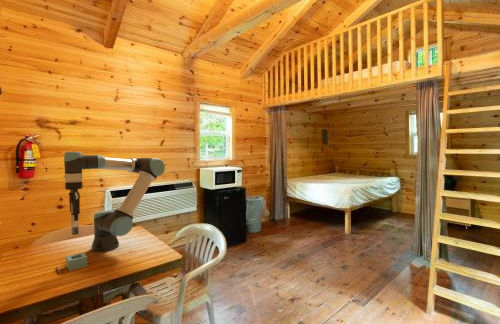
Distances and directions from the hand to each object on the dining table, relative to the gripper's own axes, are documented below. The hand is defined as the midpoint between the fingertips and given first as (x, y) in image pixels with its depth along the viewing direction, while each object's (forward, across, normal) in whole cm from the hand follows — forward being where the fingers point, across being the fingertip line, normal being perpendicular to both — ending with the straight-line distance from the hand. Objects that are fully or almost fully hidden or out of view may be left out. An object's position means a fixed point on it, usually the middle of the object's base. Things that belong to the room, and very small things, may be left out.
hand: (75, 225), depth 137 cm
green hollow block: (+22, 0, 0) cm, 22 cm away
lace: (+22, 0, -8) cm, 23 cm away
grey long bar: (+4, 0, 0) cm, 4 cm away
